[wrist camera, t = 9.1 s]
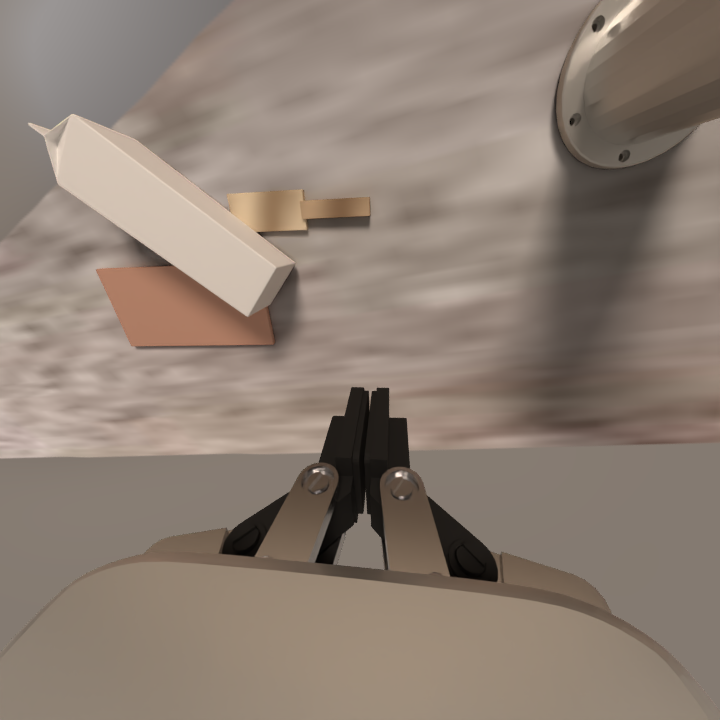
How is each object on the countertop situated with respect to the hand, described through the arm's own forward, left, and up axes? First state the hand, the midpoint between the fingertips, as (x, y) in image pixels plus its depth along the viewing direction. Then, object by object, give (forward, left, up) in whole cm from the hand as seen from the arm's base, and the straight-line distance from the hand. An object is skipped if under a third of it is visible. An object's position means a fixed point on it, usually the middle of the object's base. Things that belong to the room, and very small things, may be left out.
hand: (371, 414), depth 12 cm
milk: (-2, -11, -18) cm, 21 cm away
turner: (-9, -8, -22) cm, 25 cm away
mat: (+1, -24, -22) cm, 32 cm away
